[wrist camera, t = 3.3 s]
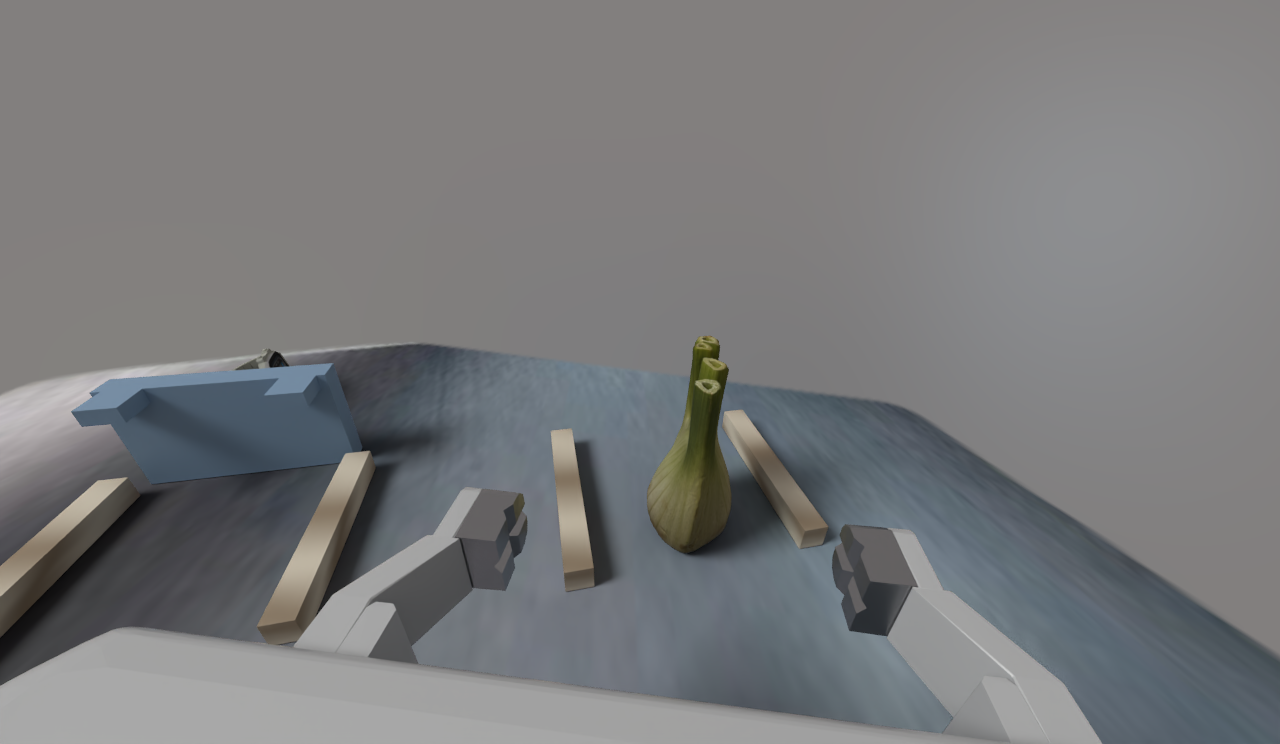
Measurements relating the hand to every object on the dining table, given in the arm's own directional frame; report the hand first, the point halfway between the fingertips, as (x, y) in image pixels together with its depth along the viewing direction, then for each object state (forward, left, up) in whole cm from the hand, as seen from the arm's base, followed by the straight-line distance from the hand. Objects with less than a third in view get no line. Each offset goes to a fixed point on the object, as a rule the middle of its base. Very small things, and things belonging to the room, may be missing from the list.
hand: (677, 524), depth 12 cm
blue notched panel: (+21, +22, -13) cm, 33 cm away
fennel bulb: (+10, -5, -13) cm, 17 cm away
